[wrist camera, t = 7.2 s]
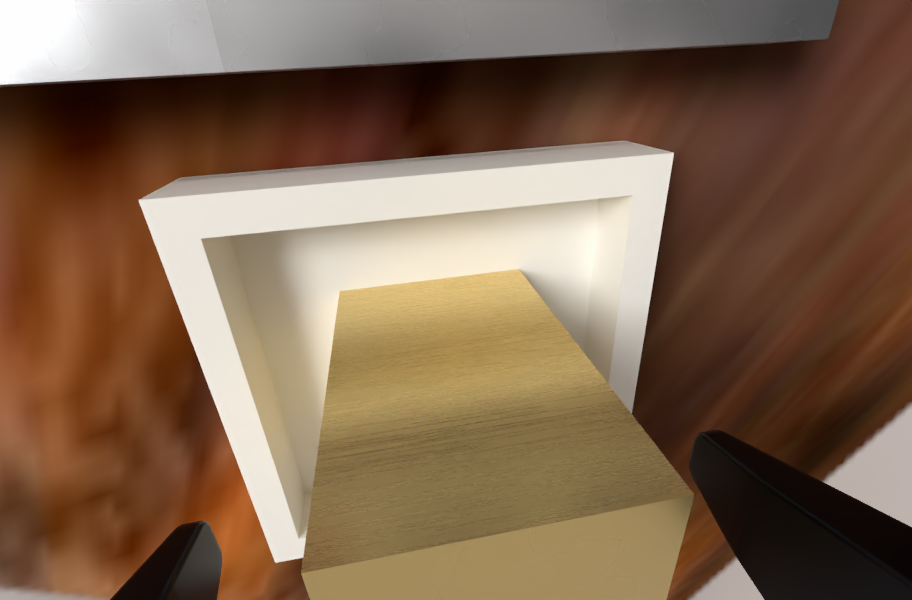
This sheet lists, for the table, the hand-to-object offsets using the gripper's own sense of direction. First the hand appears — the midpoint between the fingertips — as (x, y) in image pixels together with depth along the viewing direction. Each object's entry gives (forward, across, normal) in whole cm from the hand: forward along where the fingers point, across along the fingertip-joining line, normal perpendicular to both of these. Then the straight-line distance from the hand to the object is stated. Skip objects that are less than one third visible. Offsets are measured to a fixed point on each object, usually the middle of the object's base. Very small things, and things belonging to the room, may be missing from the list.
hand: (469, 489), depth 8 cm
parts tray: (+5, 0, 0) cm, 5 cm away
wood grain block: (+4, 0, 0) cm, 4 cm away
